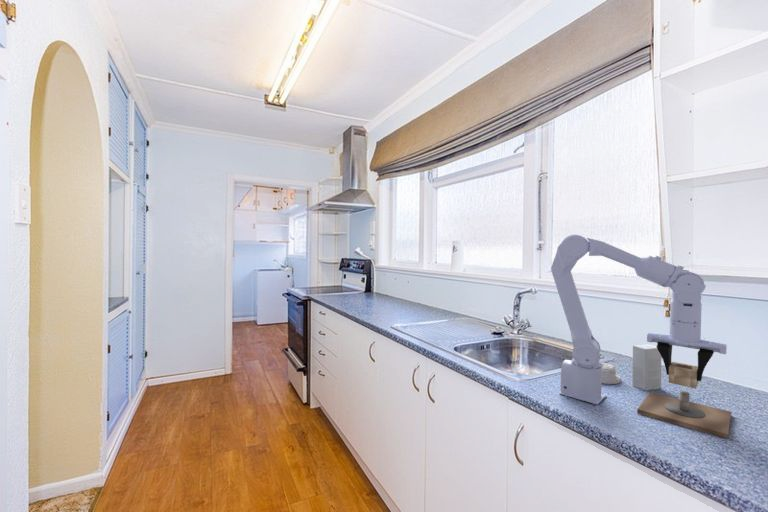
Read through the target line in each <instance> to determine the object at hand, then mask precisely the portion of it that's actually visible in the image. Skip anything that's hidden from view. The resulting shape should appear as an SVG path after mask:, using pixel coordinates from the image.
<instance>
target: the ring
mask: <svg viewBox="0 0 768 512" xmlns="http://www.w3.org/2000/svg"><path fill="white" fill-rule="evenodd" d="M697 371H698V365H692V364H687V363H683V362H682V363H681V362H675V361H671V364H670V366H669V375H668V384H673V385H677V386H682V387H687V388H691V389H697V387H698V385H699V382H700V381H697Z"/></svg>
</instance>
